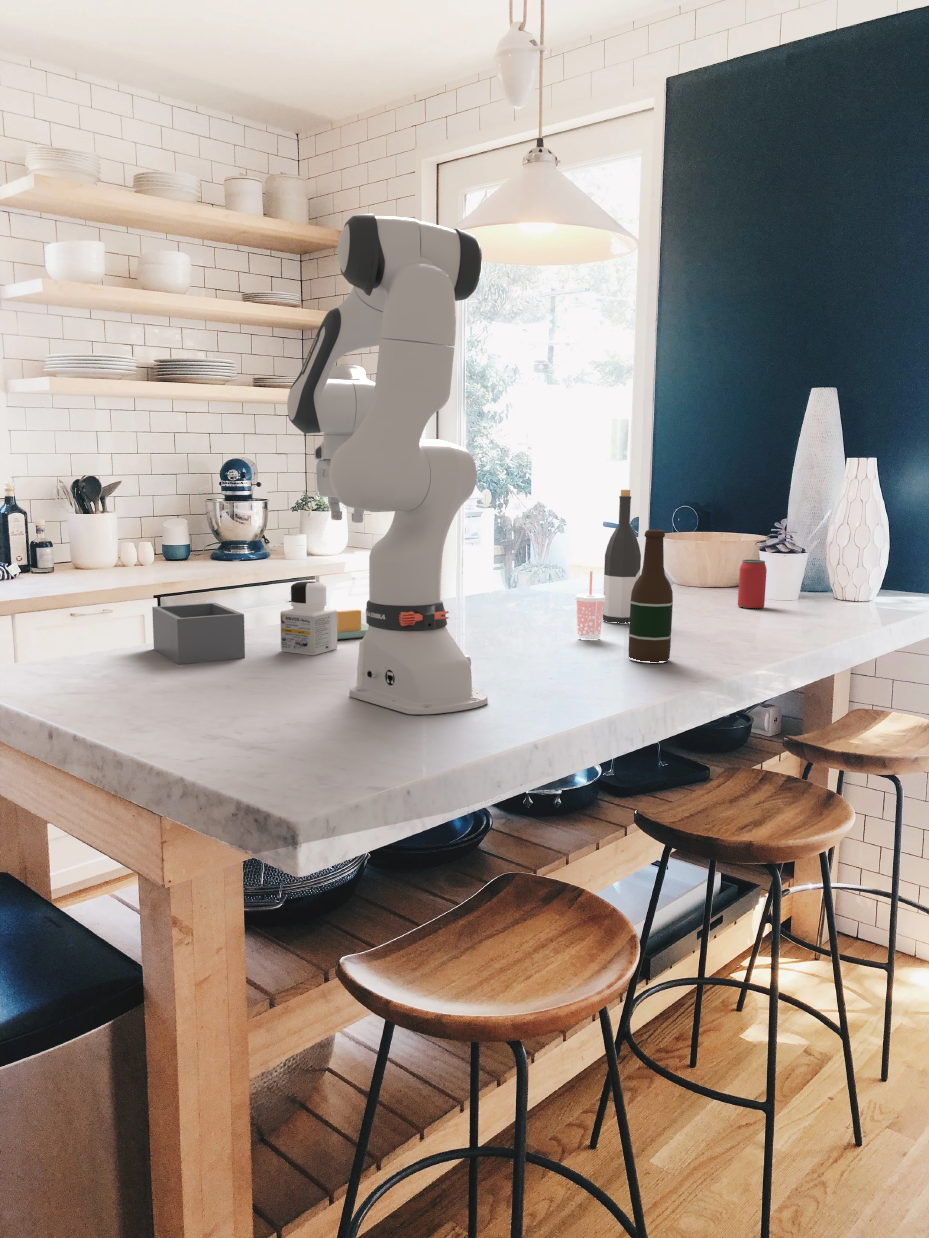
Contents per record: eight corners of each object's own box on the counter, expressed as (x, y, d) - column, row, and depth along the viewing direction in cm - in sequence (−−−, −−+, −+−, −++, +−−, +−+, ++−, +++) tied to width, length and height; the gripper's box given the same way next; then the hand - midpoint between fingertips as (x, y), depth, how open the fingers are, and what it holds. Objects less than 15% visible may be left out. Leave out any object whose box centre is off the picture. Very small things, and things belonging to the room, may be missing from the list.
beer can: (738, 608, 243) (741, 561, 241) (736, 605, 250) (738, 559, 248) (765, 609, 242) (769, 562, 240) (762, 606, 248) (765, 559, 247)
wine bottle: (602, 618, 225) (607, 488, 221) (637, 619, 224) (643, 489, 220) (602, 623, 218) (607, 489, 213) (638, 624, 216) (644, 490, 212)
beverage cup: (595, 635, 202) (598, 569, 200) (609, 641, 196) (611, 572, 194) (569, 637, 200) (571, 570, 198) (581, 642, 194) (584, 573, 192)
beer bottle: (619, 659, 178) (624, 529, 174) (642, 654, 183) (648, 527, 179) (655, 666, 172) (662, 532, 168) (678, 660, 178) (685, 530, 174)
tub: (244, 657, 174) (243, 614, 173) (178, 664, 168) (177, 619, 167) (216, 643, 188) (215, 602, 186) (153, 648, 181) (152, 606, 180)
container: (280, 651, 180) (278, 582, 178) (305, 645, 187) (304, 578, 185) (313, 656, 177) (312, 585, 175) (338, 649, 184) (337, 581, 182)
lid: (378, 638, 197) (378, 609, 196) (324, 644, 191) (324, 614, 190) (344, 626, 210) (343, 599, 209) (292, 631, 204) (292, 603, 203)
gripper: (385, 450, 183) (385, 523, 185) (338, 451, 200) (339, 518, 202) (355, 450, 179) (355, 524, 181) (310, 450, 196) (311, 519, 198)
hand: (346, 521), depth 192 cm, fingers open, 8 cm apart
